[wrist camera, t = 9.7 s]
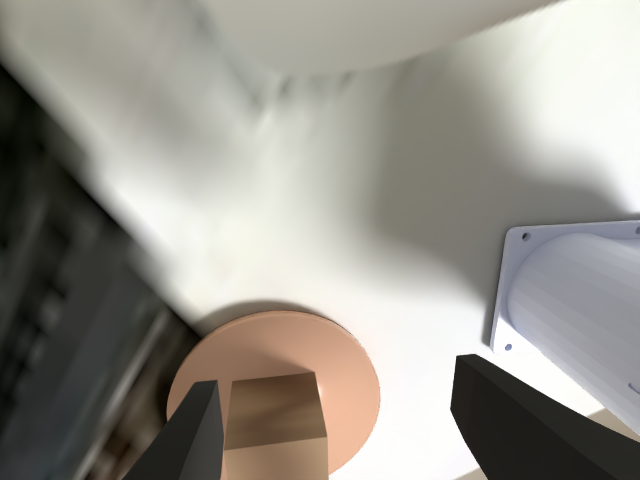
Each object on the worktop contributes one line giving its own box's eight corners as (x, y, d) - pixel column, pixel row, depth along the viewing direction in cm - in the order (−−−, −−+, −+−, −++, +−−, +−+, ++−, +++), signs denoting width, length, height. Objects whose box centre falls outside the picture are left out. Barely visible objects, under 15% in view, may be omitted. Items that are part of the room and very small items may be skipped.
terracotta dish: (379, 300, 21) (384, 309, 20) (372, 463, 25) (376, 477, 24) (156, 317, 20) (150, 328, 19) (184, 488, 23) (181, 504, 22)
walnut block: (314, 371, 21) (327, 436, 17) (316, 435, 22) (329, 510, 18) (232, 380, 20) (223, 450, 16) (239, 445, 22) (233, 525, 17)
